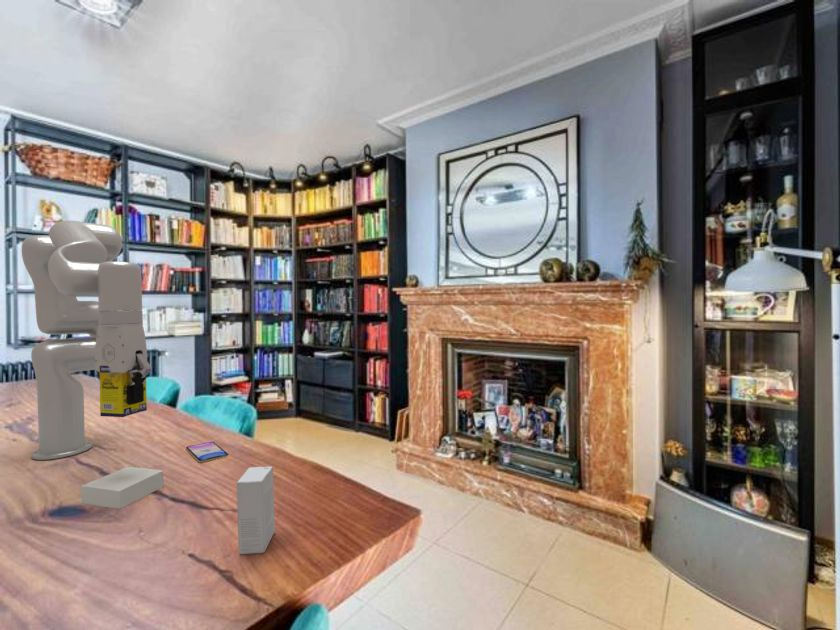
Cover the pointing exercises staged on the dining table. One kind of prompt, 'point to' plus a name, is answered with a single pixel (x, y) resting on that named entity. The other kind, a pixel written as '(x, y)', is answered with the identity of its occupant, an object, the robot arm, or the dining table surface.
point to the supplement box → (117, 394)
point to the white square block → (122, 487)
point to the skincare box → (255, 510)
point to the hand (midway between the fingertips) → (123, 401)
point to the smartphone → (206, 452)
